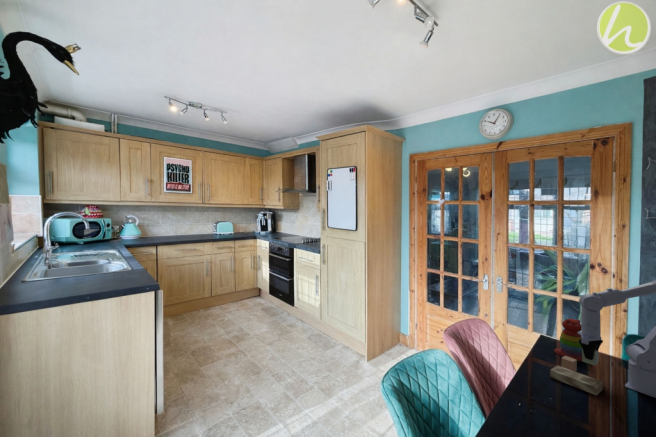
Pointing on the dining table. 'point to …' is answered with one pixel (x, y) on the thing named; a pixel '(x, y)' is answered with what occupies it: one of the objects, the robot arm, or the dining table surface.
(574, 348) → the stacking bear
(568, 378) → the birch board
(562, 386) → the dining table surface
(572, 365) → the terracotta block
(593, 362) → the sage block
